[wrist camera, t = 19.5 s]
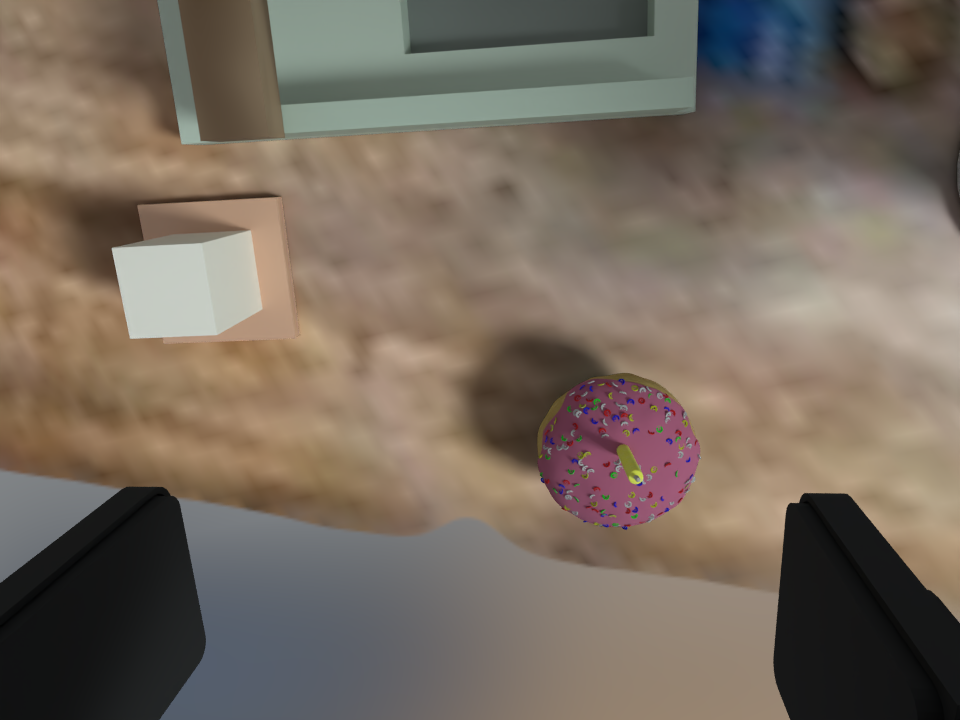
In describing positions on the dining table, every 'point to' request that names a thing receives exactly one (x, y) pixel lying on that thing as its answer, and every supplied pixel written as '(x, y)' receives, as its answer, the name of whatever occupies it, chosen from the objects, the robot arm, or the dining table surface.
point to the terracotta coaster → (268, 250)
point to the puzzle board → (462, 63)
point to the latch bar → (232, 69)
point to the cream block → (188, 283)
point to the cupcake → (617, 451)
